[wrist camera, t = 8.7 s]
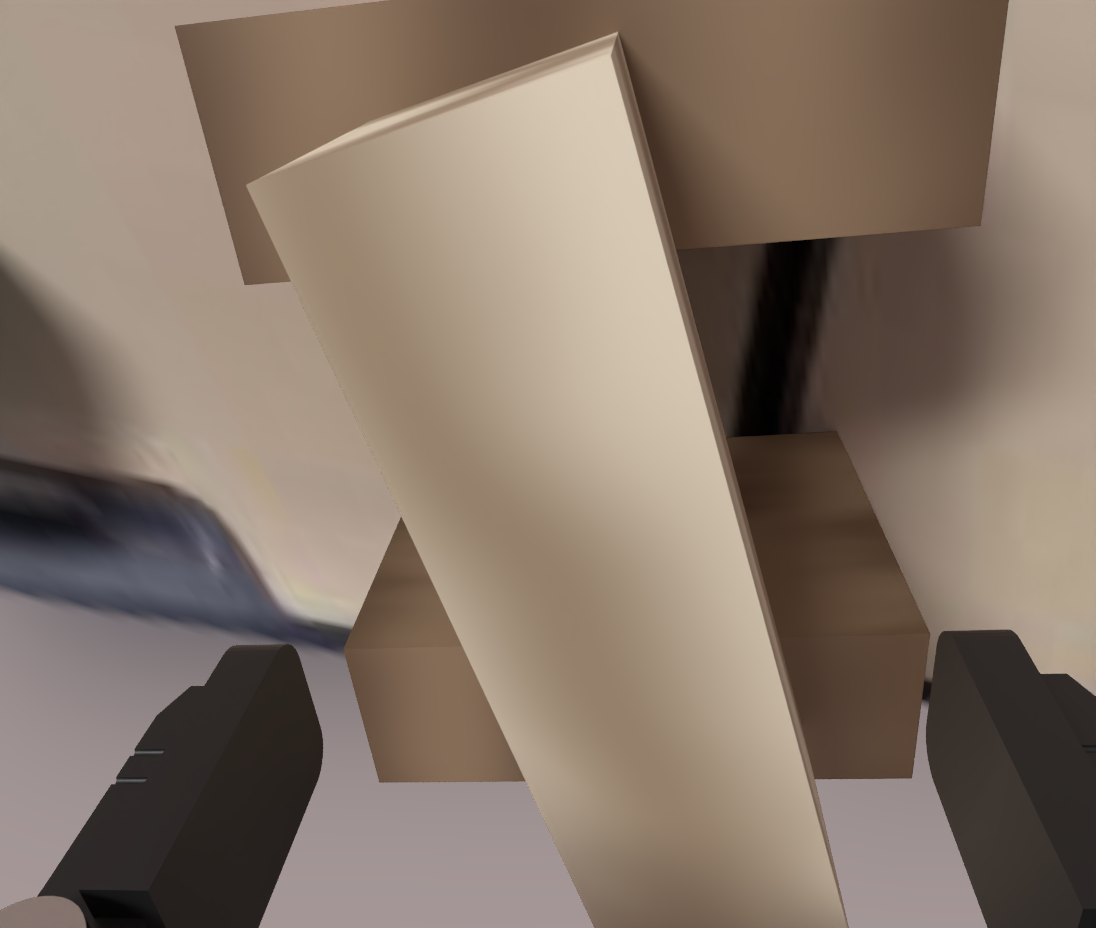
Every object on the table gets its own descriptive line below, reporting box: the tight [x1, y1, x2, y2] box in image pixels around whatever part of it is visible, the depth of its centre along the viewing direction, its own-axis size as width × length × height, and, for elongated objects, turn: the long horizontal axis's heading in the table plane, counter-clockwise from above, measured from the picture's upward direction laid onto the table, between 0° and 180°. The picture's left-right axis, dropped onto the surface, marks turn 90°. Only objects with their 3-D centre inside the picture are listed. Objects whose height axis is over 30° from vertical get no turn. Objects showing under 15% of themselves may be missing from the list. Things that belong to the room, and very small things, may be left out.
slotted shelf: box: [175, 0, 1009, 782], centre depth 20 cm, size 12×16×9 cm
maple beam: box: [246, 32, 849, 928], centre depth 14 cm, size 4×14×5 cm, turn 18°
